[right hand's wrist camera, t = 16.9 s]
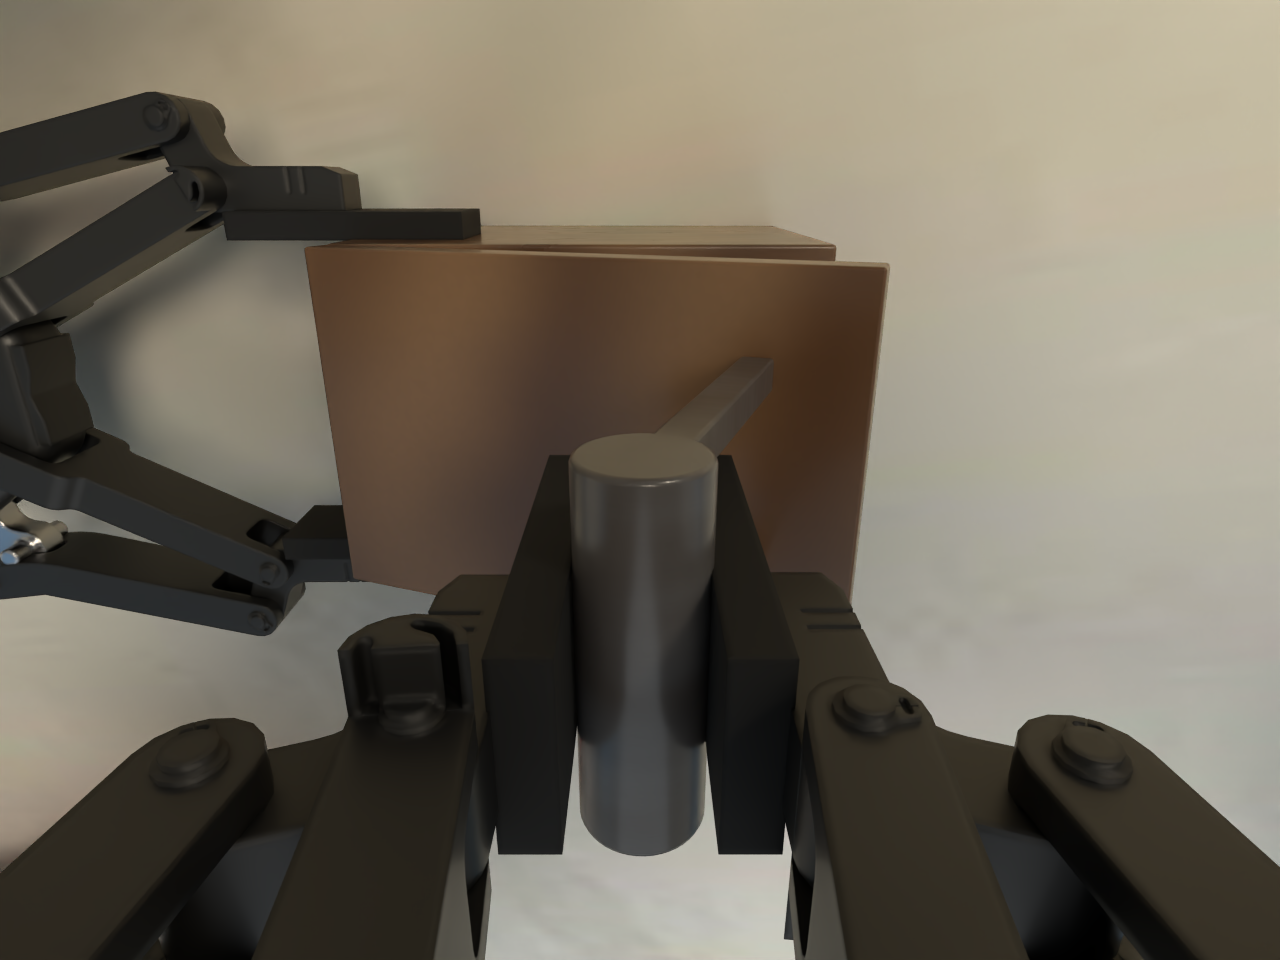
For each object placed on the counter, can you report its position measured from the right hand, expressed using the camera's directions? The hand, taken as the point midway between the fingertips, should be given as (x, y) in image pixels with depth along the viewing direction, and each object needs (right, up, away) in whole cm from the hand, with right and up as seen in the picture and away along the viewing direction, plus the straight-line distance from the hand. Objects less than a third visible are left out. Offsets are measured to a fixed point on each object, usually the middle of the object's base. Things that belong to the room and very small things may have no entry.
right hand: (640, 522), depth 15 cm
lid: (-1, +2, +4) cm, 5 cm away
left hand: (-5, +4, +10) cm, 11 cm away
